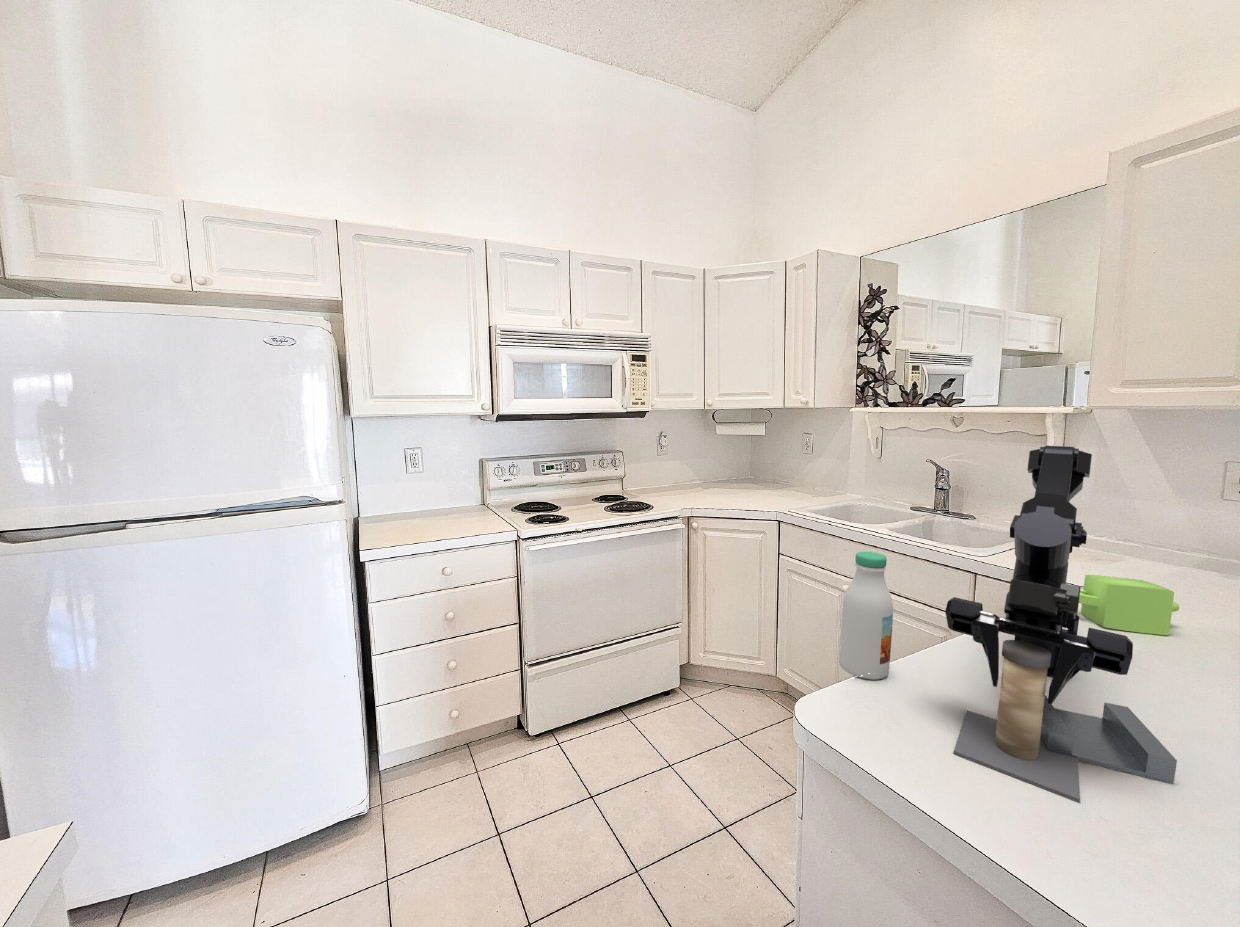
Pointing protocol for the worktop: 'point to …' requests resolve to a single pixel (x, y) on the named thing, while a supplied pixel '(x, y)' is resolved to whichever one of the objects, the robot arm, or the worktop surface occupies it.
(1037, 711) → the plug
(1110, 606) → the gearbox
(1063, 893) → the worktop surface
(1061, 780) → the pad
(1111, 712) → the grey bracket
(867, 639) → the milk bottle
